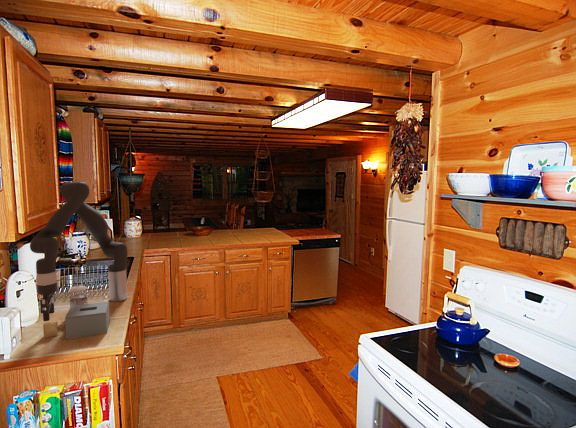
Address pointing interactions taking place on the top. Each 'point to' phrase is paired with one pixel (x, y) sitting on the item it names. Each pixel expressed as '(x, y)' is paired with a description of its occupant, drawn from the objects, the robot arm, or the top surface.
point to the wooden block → (50, 329)
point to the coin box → (87, 319)
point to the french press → (78, 298)
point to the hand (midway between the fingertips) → (49, 316)
